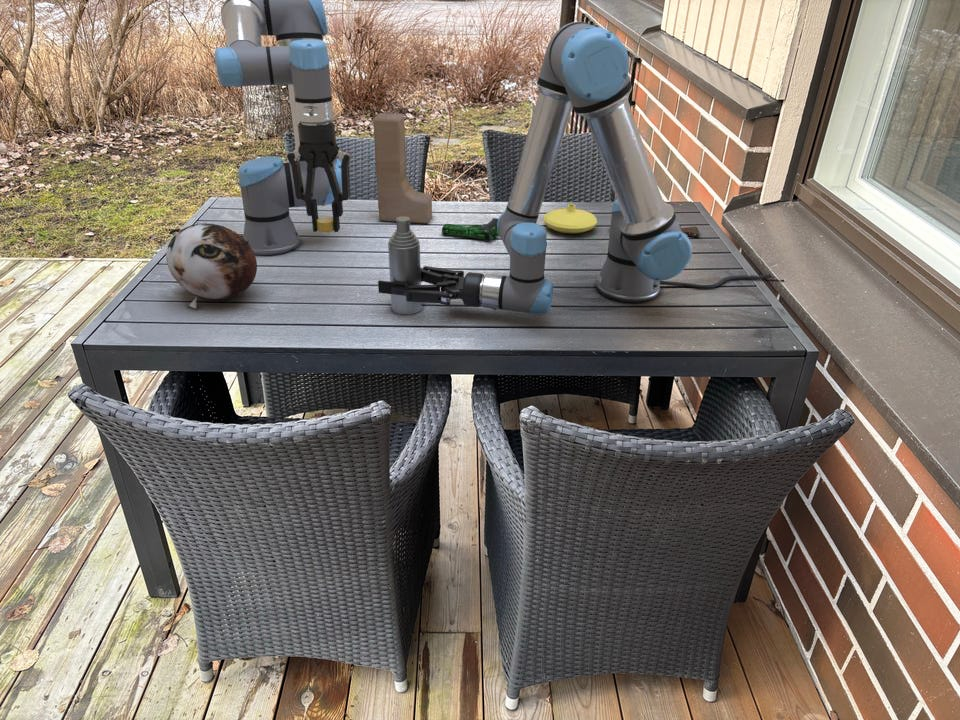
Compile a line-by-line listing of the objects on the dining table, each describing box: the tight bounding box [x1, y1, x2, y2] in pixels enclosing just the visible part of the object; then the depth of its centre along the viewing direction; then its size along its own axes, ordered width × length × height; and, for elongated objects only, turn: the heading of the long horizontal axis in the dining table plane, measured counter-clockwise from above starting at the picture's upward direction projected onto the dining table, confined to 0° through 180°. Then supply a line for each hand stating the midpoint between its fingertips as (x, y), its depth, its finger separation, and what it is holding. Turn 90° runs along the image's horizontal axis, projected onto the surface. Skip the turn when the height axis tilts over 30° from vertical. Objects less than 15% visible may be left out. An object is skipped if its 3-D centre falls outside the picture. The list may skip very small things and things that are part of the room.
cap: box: [316, 216, 334, 233], centre depth 159 cm, size 4×4×2 cm
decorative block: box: [372, 112, 433, 224], centre depth 209 cm, size 8×15×30 cm, turn 82°
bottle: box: [387, 216, 423, 315], centre depth 160 cm, size 7×7×22 cm
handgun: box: [441, 217, 500, 242], centre depth 207 cm, size 16×3×15 cm
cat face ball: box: [165, 222, 258, 309], centre depth 165 cm, size 22×18×20 cm
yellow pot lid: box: [543, 203, 598, 234], centre depth 209 cm, size 16×16×7 cm
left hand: (326, 229), depth 160 cm, fingers closed on cap, 4 cm apart
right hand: (384, 279), depth 163 cm, fingers closed on bottle, 7 cm apart
